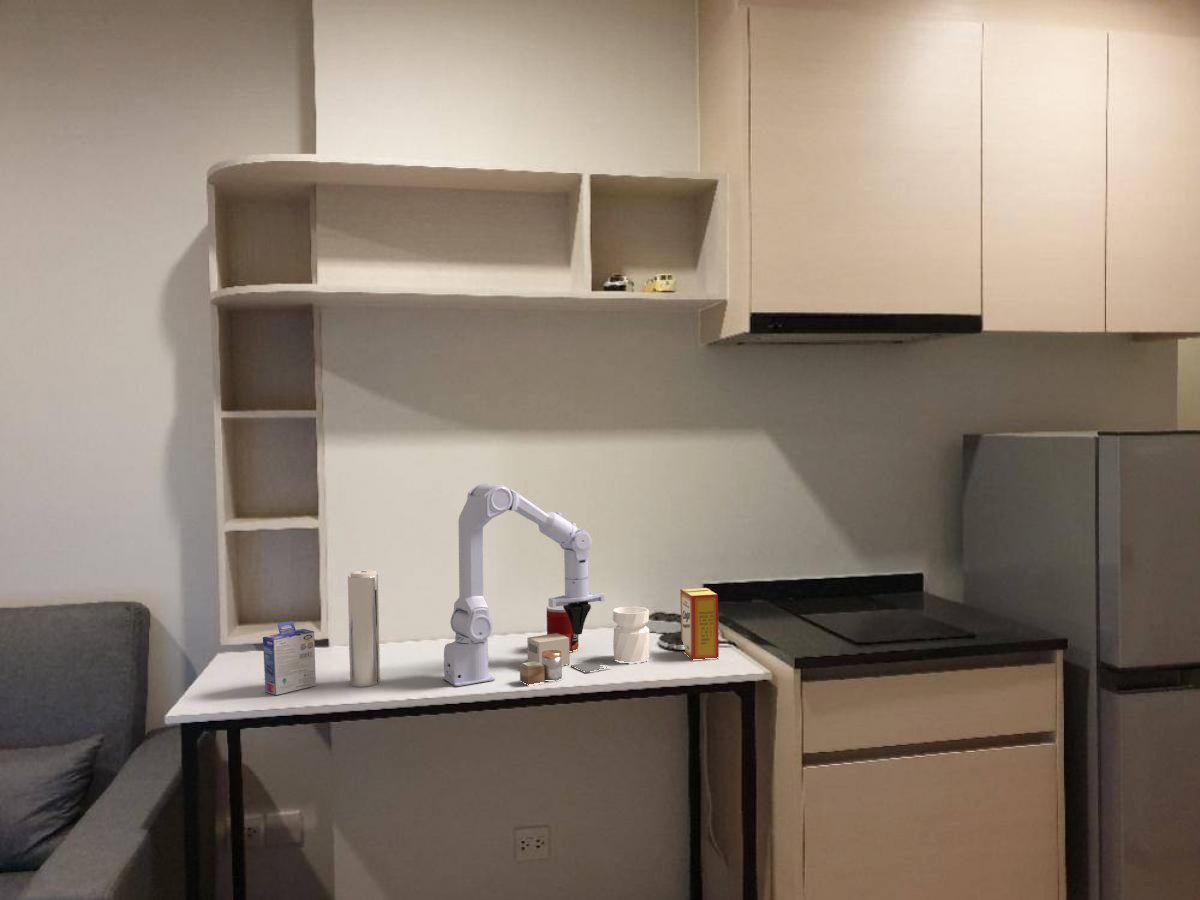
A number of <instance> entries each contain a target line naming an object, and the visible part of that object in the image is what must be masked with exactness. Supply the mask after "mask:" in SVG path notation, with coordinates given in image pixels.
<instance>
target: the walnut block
mask: <svg viewBox="0 0 1200 900" xmlns="http://www.w3.org/2000/svg"><path fill="white" fill-rule="evenodd" d="M520 681H522V682H524V683H526V684H528V685H529V684H534V683H540V682H545V683H546V681H544V665H542V664H540V663H538V662H536V661H533V662H528V661H527V662H522V663H521V664H519V682H520Z"/></svg>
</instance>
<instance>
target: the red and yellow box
mask: <svg viewBox="0 0 1200 900" xmlns="http://www.w3.org/2000/svg"><path fill="white" fill-rule="evenodd" d="M679 592H680V594H679V595H680V641H681V640H682V642H683V644H684V647H685V653H686V654H687V655H688V656H689V657H690V658H691V659H692V660H693V659H705V658H717V657H719V654H720V653H719V652H720V651H719V650H720V649H719V599H718V597H719V594H717V593H715V592H714V591H712V590H711V589H710V588H707V587H697V588H695V587H694V588H693V587H692V588H680V591H679ZM689 657H688V658H689ZM690 658H689V659H690ZM691 659H690V660H691ZM692 660H691V661H692Z"/></svg>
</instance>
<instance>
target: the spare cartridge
mask: <svg viewBox="0 0 1200 900" xmlns="http://www.w3.org/2000/svg"><path fill="white" fill-rule="evenodd" d="M542 665H544V680H559V679H561V678H562V679H563V666H562V652H561V651H558V650H547V651H543V652H542Z"/></svg>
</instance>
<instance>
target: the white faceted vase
mask: <svg viewBox="0 0 1200 900" xmlns="http://www.w3.org/2000/svg"><path fill="white" fill-rule="evenodd" d="M649 615H650V609H648V607H647V608H646V607H641V606H621V607H616V608H613V610H612V621H613V622H614V623H615V624H617V626H616V627H614V628H613V641H612V642H613V649H612V650H613V660H614V659H615V660H618V661H624V662H636V661H644V660H647V659H648V658H649V657H650V628H649V627H647V626H646V624H647V623H648V622H650V621H649V618H650V616H649ZM650 658H651V657H650ZM650 658H649V659H650ZM615 660H614V661H615Z"/></svg>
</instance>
